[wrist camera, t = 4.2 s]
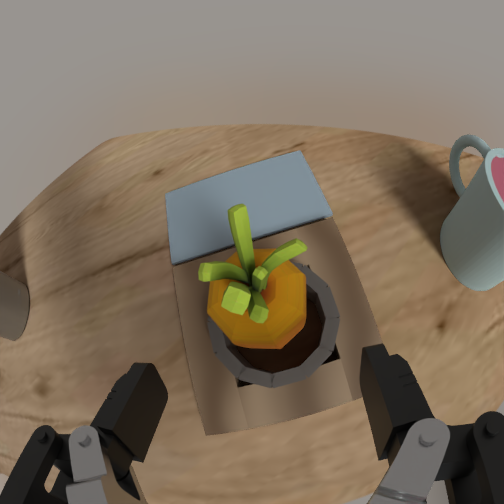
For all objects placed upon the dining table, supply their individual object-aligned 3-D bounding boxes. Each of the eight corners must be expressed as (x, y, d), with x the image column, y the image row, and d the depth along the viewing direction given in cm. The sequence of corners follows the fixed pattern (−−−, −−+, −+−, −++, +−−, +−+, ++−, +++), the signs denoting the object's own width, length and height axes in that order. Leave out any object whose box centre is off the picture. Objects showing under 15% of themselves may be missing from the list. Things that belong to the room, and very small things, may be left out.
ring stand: (211, 431, 19) (196, 440, 16) (179, 272, 25) (162, 258, 22) (389, 382, 18) (403, 384, 15) (331, 225, 25) (334, 204, 21)
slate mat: (173, 265, 26) (171, 263, 25) (166, 195, 30) (165, 193, 30) (332, 215, 25) (332, 213, 25) (300, 152, 29) (300, 150, 29)
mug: (513, 276, 18) (568, 233, 9) (459, 303, 19) (525, 260, 10) (464, 174, 24) (494, 114, 15) (408, 183, 25) (434, 111, 16)
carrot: (262, 290, 23) (203, 174, 10) (316, 312, 22) (335, 210, 8) (237, 343, 22) (132, 292, 8) (292, 367, 20) (270, 365, 7)
